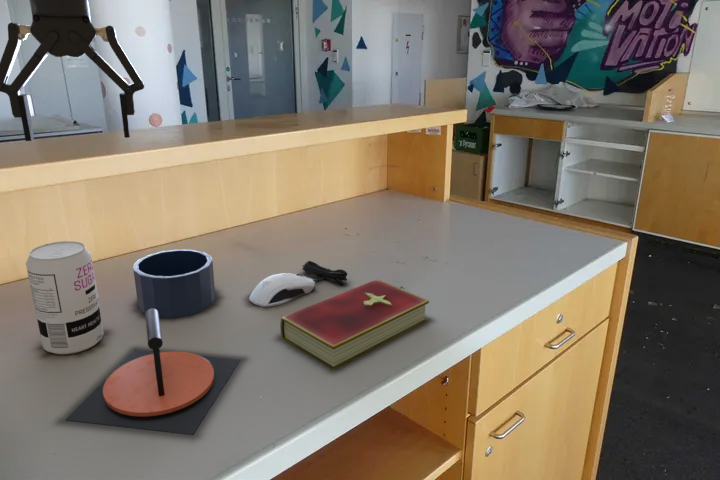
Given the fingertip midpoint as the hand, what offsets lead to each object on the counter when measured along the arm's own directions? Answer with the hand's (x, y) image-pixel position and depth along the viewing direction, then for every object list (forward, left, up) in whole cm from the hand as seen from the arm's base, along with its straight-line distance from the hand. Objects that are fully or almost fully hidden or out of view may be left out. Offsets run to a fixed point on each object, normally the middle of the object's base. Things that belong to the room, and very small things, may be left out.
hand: (80, 138), depth 85 cm
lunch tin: (+12, +2, -28) cm, 31 cm away
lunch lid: (+21, -22, -27) cm, 41 cm away
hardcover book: (+44, -2, -29) cm, 53 cm away
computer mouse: (+31, +10, -29) cm, 43 cm away
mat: (+21, -22, -28) cm, 42 cm away
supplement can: (+3, -13, -29) cm, 32 cm away
